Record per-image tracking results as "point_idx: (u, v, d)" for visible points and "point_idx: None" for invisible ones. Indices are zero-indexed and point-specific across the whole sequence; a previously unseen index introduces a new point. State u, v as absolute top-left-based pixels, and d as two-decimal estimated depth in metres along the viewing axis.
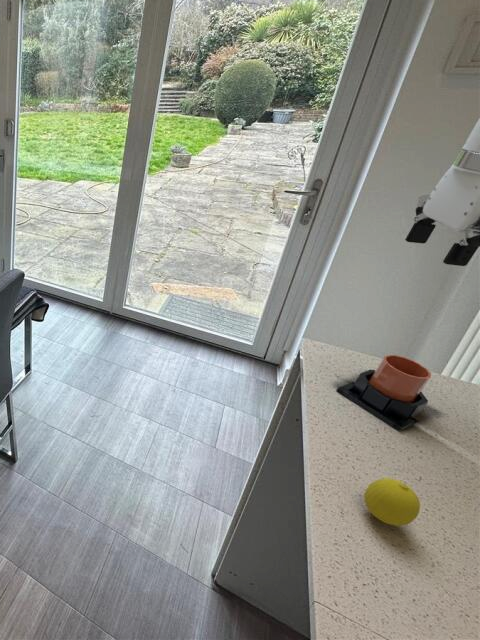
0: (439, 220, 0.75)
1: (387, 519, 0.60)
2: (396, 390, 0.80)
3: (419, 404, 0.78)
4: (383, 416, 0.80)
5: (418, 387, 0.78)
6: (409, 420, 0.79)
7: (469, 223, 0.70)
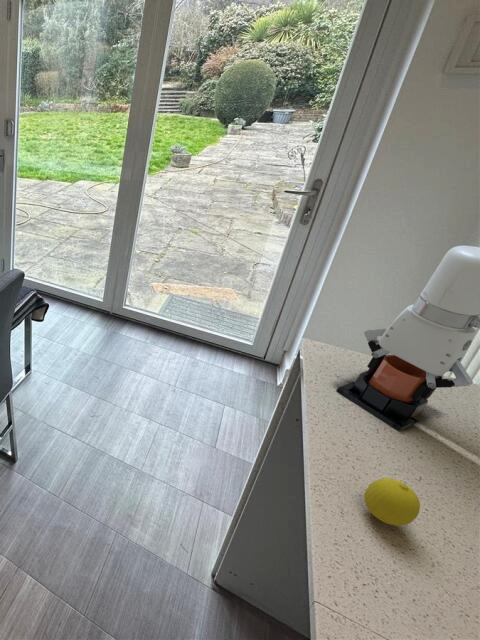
0: (407, 360, 0.78)
1: (387, 519, 0.60)
2: (396, 390, 0.80)
3: (419, 404, 0.78)
4: (383, 416, 0.80)
5: (418, 387, 0.78)
6: (409, 420, 0.79)
7: (446, 371, 0.74)
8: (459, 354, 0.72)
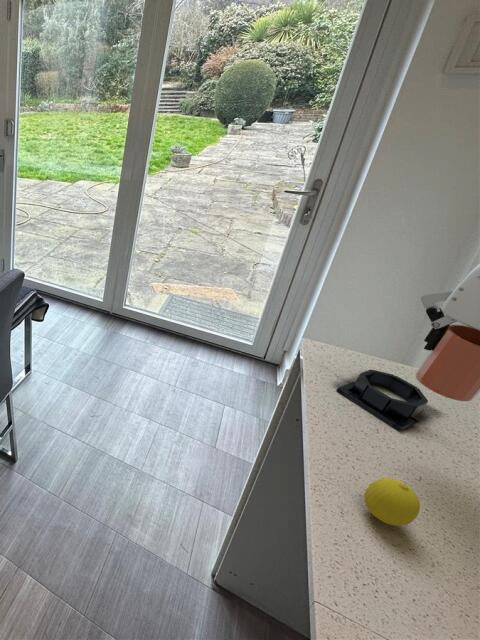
0: None
1: (387, 519, 0.60)
2: (466, 368, 0.62)
3: (419, 404, 0.78)
4: (383, 416, 0.80)
5: None
6: (409, 420, 0.79)
7: None
8: None
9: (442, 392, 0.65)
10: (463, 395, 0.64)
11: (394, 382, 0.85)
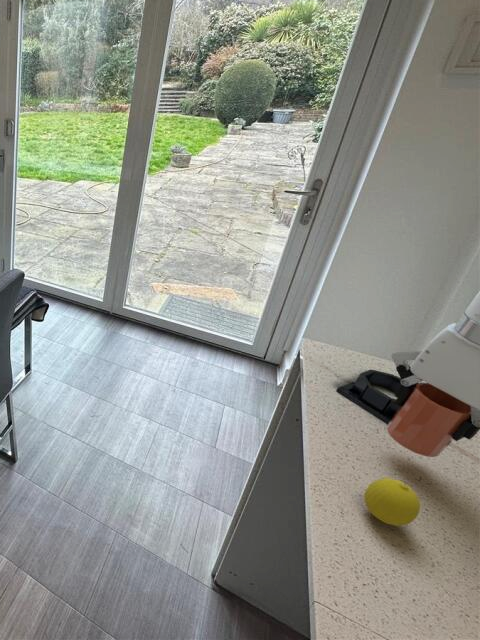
0: (446, 391, 0.64)
1: (387, 519, 0.60)
2: (432, 427, 0.66)
3: None
4: (383, 416, 0.80)
5: (460, 424, 0.64)
6: None
7: None
8: None
9: (411, 447, 0.68)
10: (430, 451, 0.67)
11: (394, 382, 0.85)
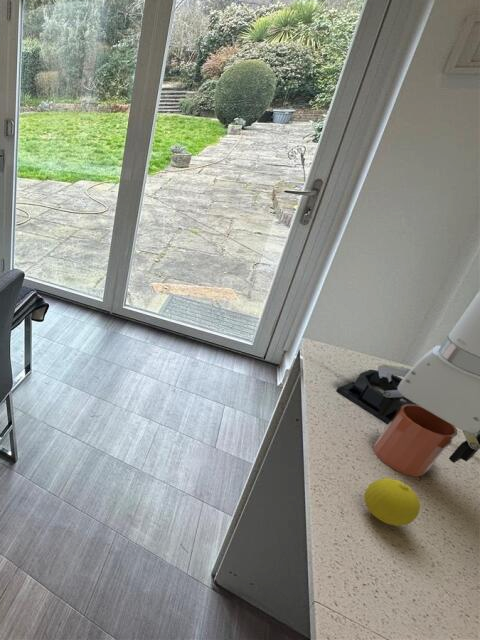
0: (432, 411, 0.66)
1: (387, 519, 0.60)
2: (416, 448, 0.68)
3: None
4: (383, 416, 0.80)
5: (442, 446, 0.66)
6: None
7: None
8: None
9: (396, 467, 0.71)
10: (414, 471, 0.69)
11: (394, 382, 0.85)
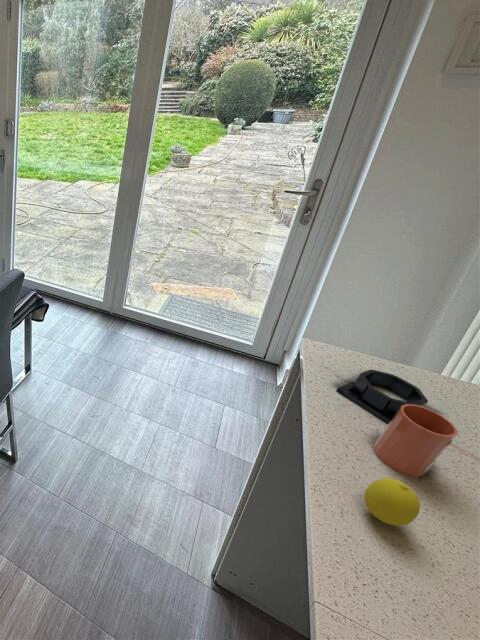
0: None
1: (387, 519, 0.60)
2: (416, 448, 0.68)
3: (419, 404, 0.78)
4: (383, 416, 0.80)
5: (442, 446, 0.66)
6: None
7: None
8: None
9: (396, 467, 0.71)
10: (414, 471, 0.69)
11: (394, 382, 0.85)
